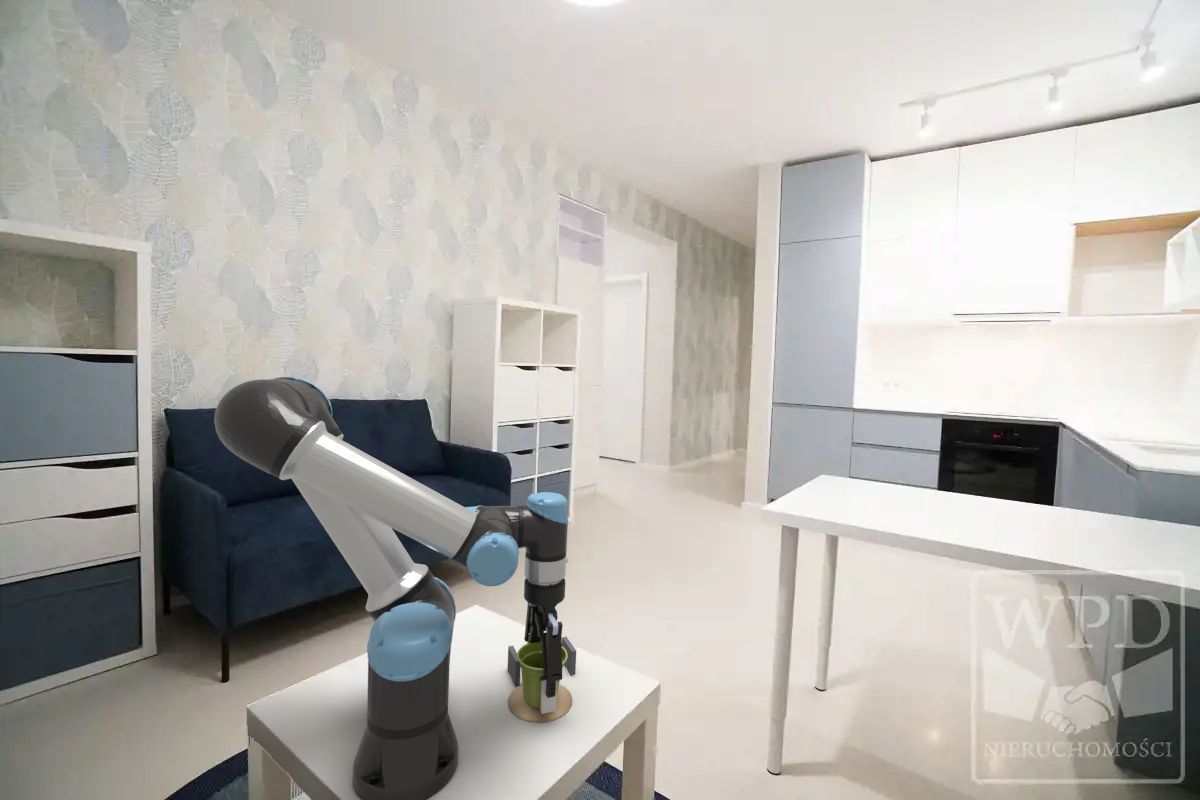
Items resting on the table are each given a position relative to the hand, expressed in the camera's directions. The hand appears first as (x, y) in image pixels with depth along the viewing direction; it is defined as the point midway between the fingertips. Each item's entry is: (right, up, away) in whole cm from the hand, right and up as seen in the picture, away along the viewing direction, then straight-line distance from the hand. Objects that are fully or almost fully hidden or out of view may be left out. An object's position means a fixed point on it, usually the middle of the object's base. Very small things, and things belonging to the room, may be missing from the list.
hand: (540, 696), depth 99 cm
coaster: (0, -1, 0) cm, 1 cm away
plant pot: (0, -1, 0) cm, 1 cm away
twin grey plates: (-1, 0, +9) cm, 9 cm away
